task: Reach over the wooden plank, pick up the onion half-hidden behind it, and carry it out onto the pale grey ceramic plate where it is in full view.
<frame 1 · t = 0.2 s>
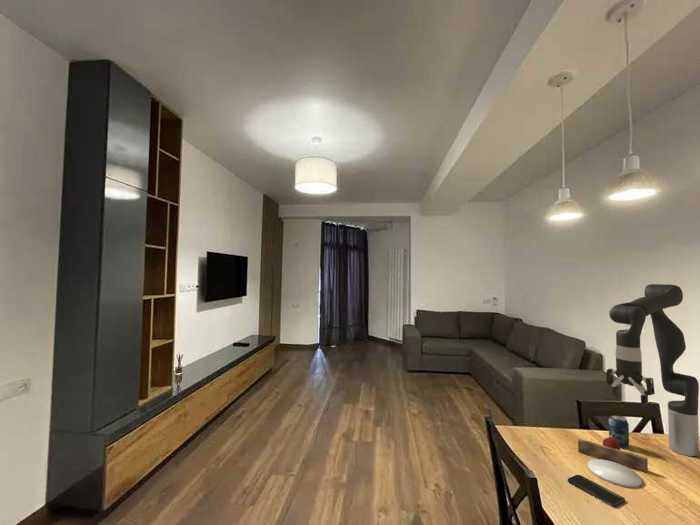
hand: (629, 400, 122), 28 cm above the table, tool pointing down, fingers open, 8 cm apart
soda can: (619, 445, 144), on the table
phone: (594, 492, 112), on the table
plate: (613, 473, 123), on the table
onion: (611, 455, 136), on the table
wooden plank: (611, 460, 131), on the table
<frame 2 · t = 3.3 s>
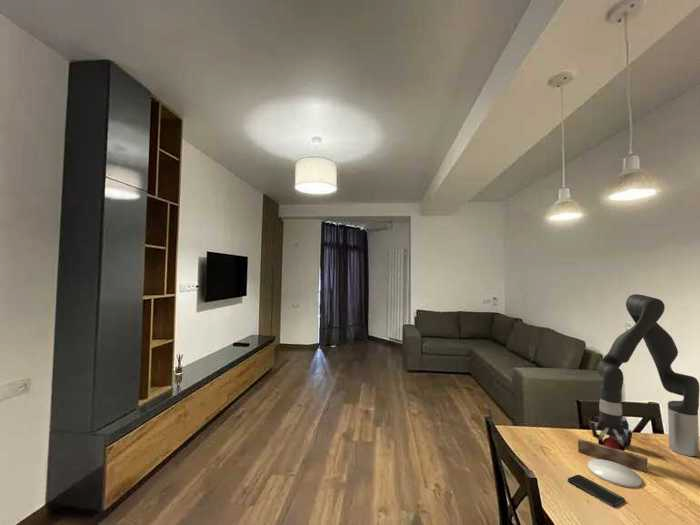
hand: (611, 451, 136), 2 cm above the table, tool pointing down, fingers closed on onion, 6 cm apart
onion: (611, 455, 136), on the table, touching gripper
everything else where it was.
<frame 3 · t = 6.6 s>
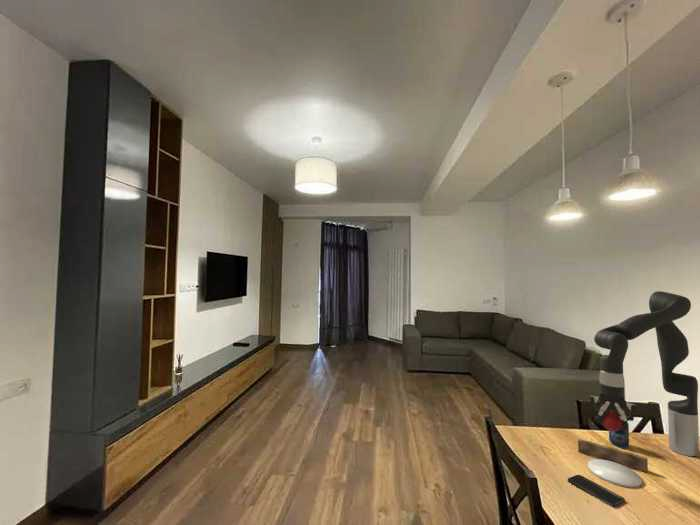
hand: (612, 427, 123), 18 cm above the table, tool pointing down, fingers closed on onion, 6 cm apart
onion: (612, 431, 123), point 16 cm above the table, touching gripper
everything else where it was.
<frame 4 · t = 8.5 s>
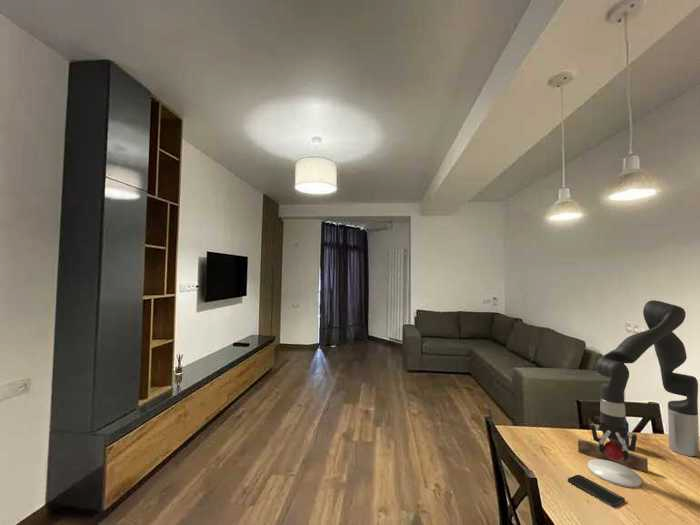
hand: (613, 456, 123), 7 cm above the table, tool pointing down, fingers closed on onion, 6 cm apart
onion: (613, 461, 123), point 5 cm above the table, touching gripper
everything else where it was.
when the fingers open (4 cm above the table, at t = 10.0 s): onion drops 1 cm, resting on plate.
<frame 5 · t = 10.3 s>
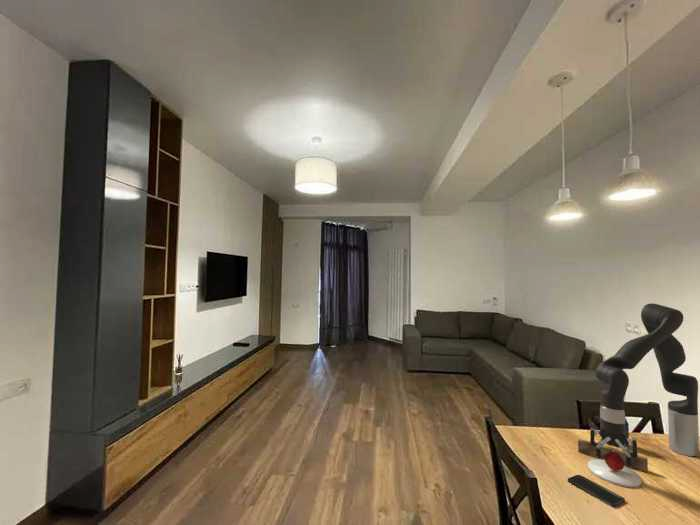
hand: (613, 461, 123), 4 cm above the table, tool pointing down, fingers open, 8 cm apart
onion: (614, 471, 123), point 1 cm above the table, touching plate
everything else where it was.
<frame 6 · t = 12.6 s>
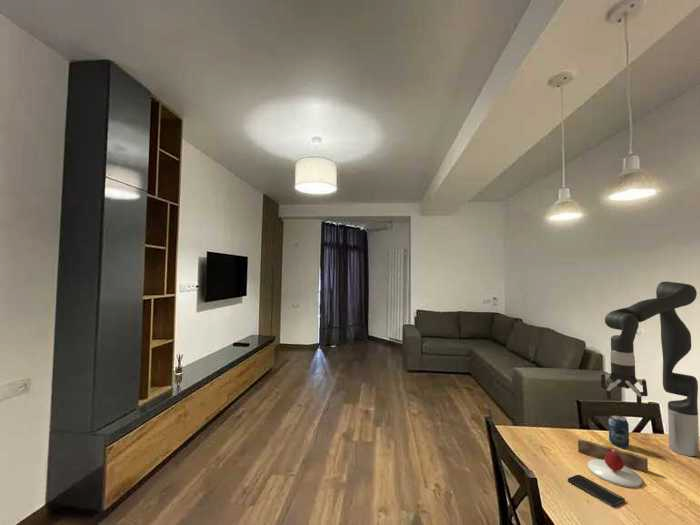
hand: (623, 402, 129), 25 cm above the table, tool pointing down, fingers open, 8 cm apart
nothing on the table moved.
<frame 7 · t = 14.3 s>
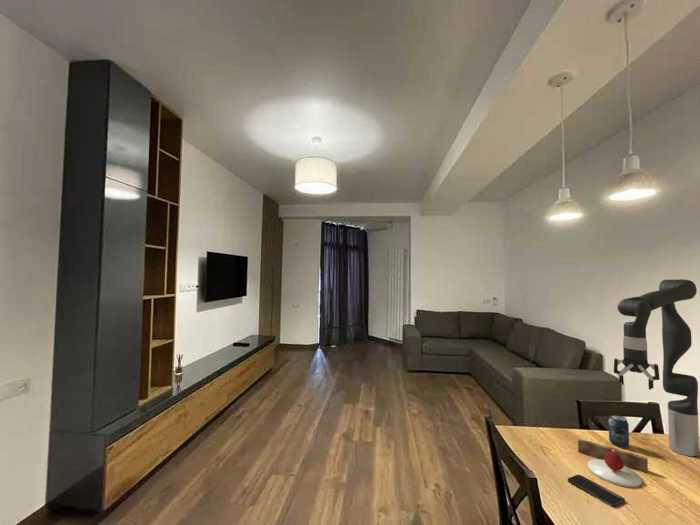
hand: (636, 386, 133), 30 cm above the table, tool pointing down, fingers open, 8 cm apart
nothing on the table moved.
at the end: onion inside the target area on the plate (0.2 cm from its centre), point 0.8 cm above the plate's base; the gripper is holding nothing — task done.
